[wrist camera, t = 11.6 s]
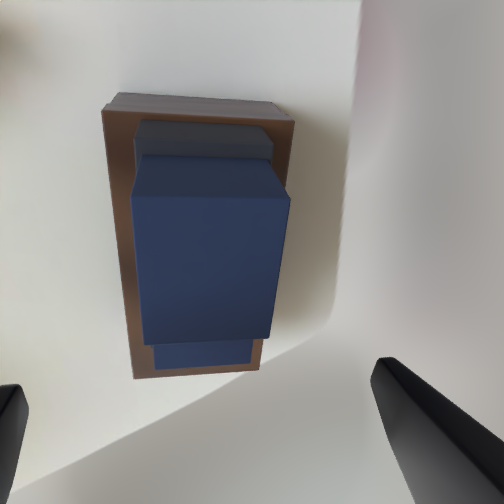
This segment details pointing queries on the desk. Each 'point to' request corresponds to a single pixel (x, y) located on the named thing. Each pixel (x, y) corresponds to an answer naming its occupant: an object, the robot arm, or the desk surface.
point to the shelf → (122, 179)
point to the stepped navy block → (206, 240)
